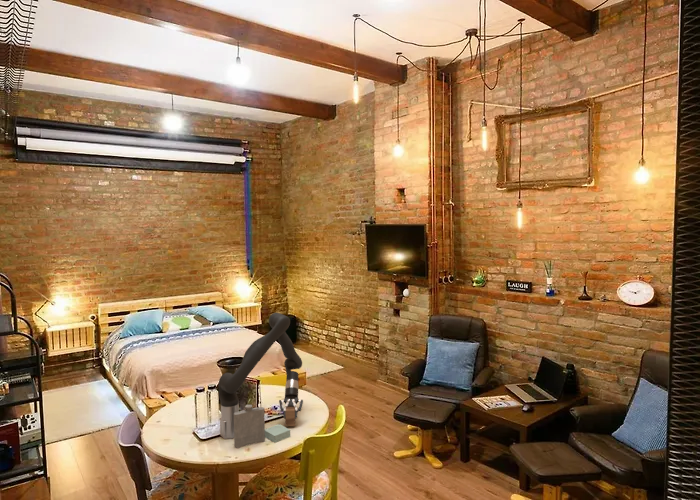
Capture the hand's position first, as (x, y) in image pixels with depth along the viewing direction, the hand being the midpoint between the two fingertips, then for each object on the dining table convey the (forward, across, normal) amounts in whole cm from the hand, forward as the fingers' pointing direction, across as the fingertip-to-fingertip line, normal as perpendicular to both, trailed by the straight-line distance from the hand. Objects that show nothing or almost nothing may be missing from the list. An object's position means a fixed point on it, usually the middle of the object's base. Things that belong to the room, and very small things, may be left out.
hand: (290, 418), depth 257 cm
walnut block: (+2, 0, +4) cm, 5 cm away
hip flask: (+16, -20, -8) cm, 26 cm away
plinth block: (+11, -6, -3) cm, 13 cm away
